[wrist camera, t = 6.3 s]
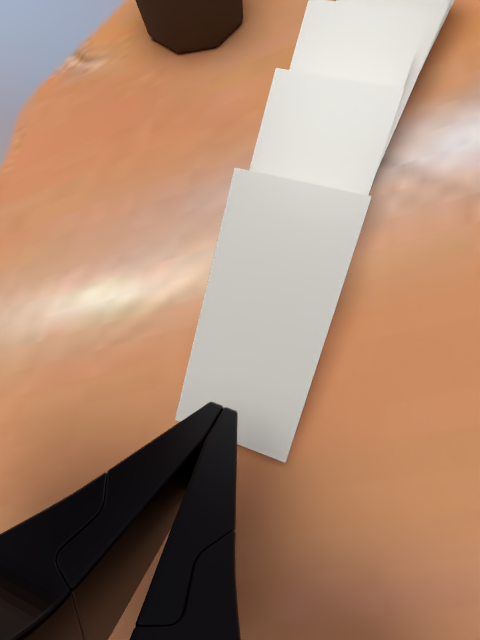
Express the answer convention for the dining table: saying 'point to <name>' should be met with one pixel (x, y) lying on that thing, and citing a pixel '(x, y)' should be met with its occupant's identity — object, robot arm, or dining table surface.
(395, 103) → the domino
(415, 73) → the domino
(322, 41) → the domino
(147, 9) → the beer bottle
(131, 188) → the dining table surface
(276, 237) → the domino
